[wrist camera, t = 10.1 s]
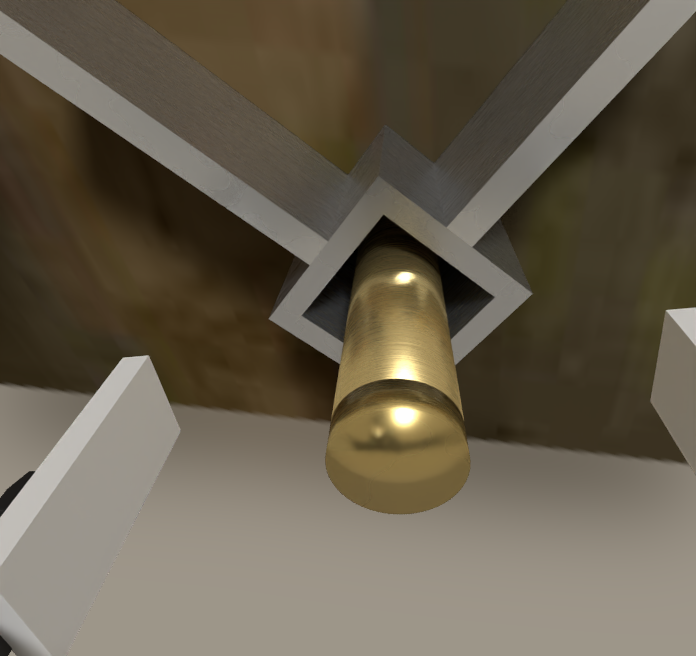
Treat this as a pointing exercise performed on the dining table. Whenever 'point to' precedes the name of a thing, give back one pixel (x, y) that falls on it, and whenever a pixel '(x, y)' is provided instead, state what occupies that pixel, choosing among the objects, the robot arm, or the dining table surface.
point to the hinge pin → (397, 383)
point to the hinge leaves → (373, 167)
